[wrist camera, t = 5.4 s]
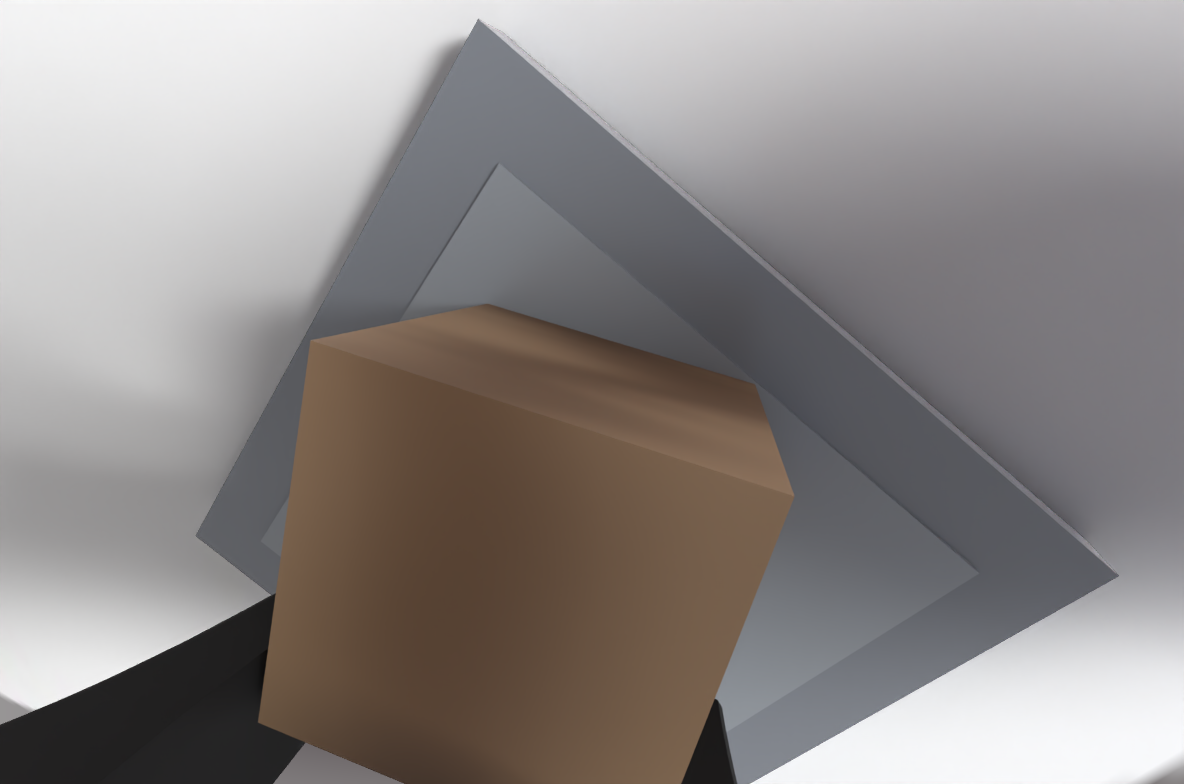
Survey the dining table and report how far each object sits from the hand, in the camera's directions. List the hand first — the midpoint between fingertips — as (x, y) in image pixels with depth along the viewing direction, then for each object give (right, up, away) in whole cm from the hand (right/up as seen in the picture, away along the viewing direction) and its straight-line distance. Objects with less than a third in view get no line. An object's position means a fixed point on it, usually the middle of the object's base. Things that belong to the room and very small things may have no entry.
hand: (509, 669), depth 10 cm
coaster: (+1, +2, +4) cm, 4 cm away
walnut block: (+1, +3, +2) cm, 4 cm away
